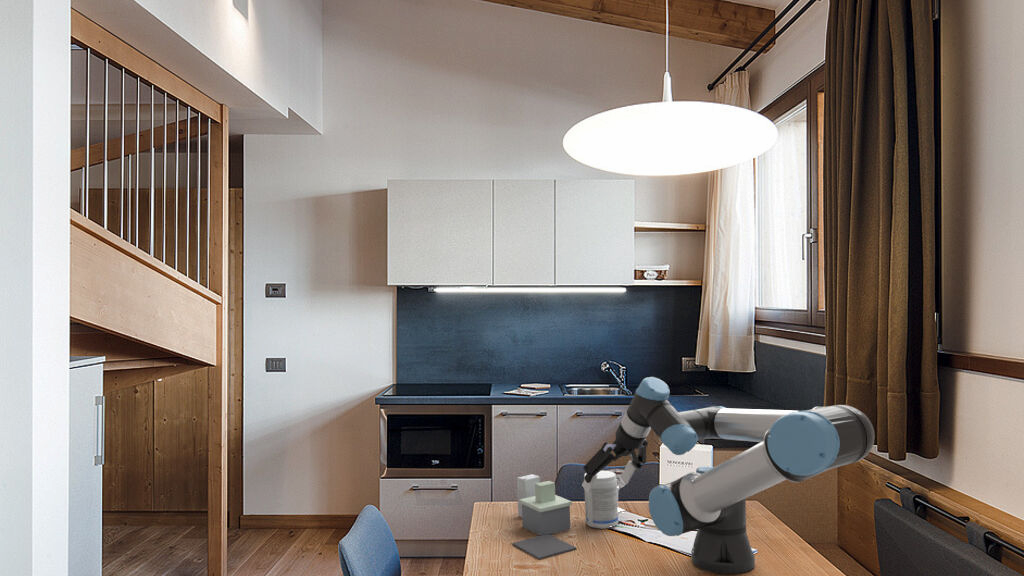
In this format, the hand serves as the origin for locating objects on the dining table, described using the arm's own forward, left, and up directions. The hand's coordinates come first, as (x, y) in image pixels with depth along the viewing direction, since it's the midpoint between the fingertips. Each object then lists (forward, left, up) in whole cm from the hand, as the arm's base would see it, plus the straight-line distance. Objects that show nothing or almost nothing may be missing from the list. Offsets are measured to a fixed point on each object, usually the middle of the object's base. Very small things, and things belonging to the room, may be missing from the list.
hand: (604, 484), depth 189 cm
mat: (+6, +17, -15) cm, 23 cm away
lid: (+18, +8, -9) cm, 22 cm away
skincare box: (+30, +6, -16) cm, 34 cm away
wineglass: (+18, -19, -16) cm, 31 cm away
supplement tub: (+11, -7, -16) cm, 20 cm away
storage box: (+18, +8, -15) cm, 25 cm away
